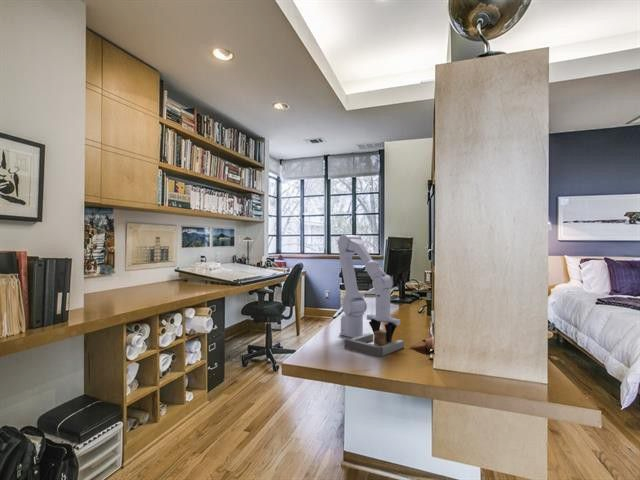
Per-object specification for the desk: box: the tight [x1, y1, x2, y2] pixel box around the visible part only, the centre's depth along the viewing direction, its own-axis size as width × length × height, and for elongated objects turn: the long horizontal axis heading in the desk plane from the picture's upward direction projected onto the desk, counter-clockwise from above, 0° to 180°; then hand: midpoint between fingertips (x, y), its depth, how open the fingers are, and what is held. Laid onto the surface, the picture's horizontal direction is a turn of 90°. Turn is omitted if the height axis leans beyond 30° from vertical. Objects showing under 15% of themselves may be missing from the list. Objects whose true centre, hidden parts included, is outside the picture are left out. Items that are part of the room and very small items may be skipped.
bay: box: [343, 332, 405, 358], centre depth 121 cm, size 16×16×3 cm
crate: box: [373, 329, 393, 346], centre depth 125 cm, size 5×5×5 cm
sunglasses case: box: [408, 336, 433, 355], centre depth 121 cm, size 18×7×7 cm, turn 131°
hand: (382, 340), depth 125 cm, fingers closed on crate, 5 cm apart
